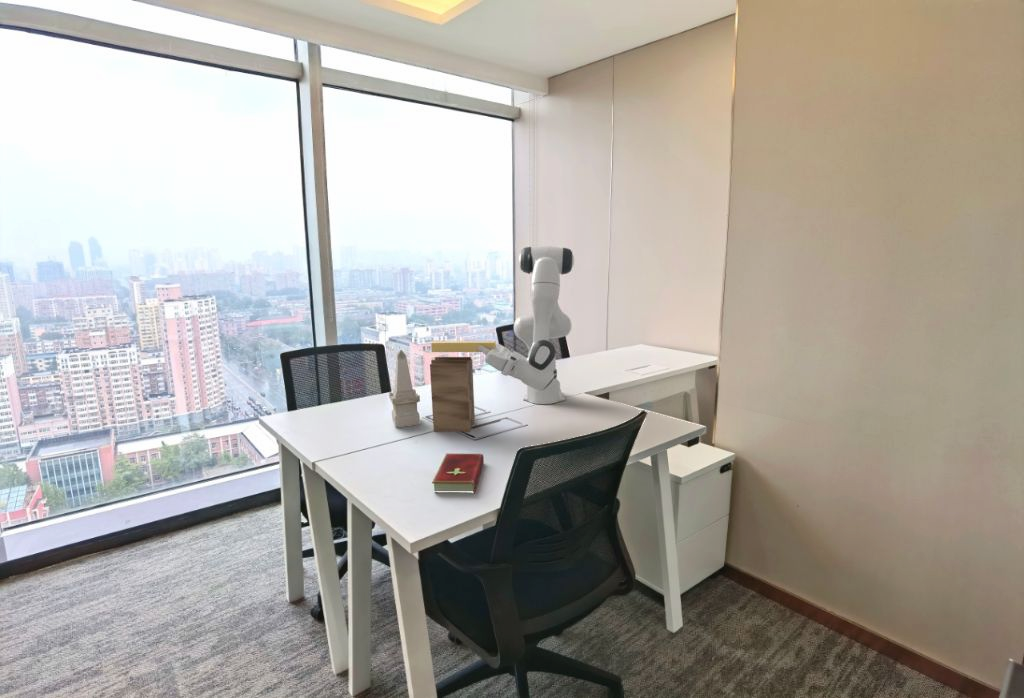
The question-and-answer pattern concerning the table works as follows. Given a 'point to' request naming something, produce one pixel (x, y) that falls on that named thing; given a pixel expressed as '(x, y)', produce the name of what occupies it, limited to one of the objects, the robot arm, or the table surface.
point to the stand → (452, 394)
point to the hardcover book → (458, 472)
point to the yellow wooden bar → (461, 346)
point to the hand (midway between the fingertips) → (479, 345)
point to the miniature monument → (404, 395)
